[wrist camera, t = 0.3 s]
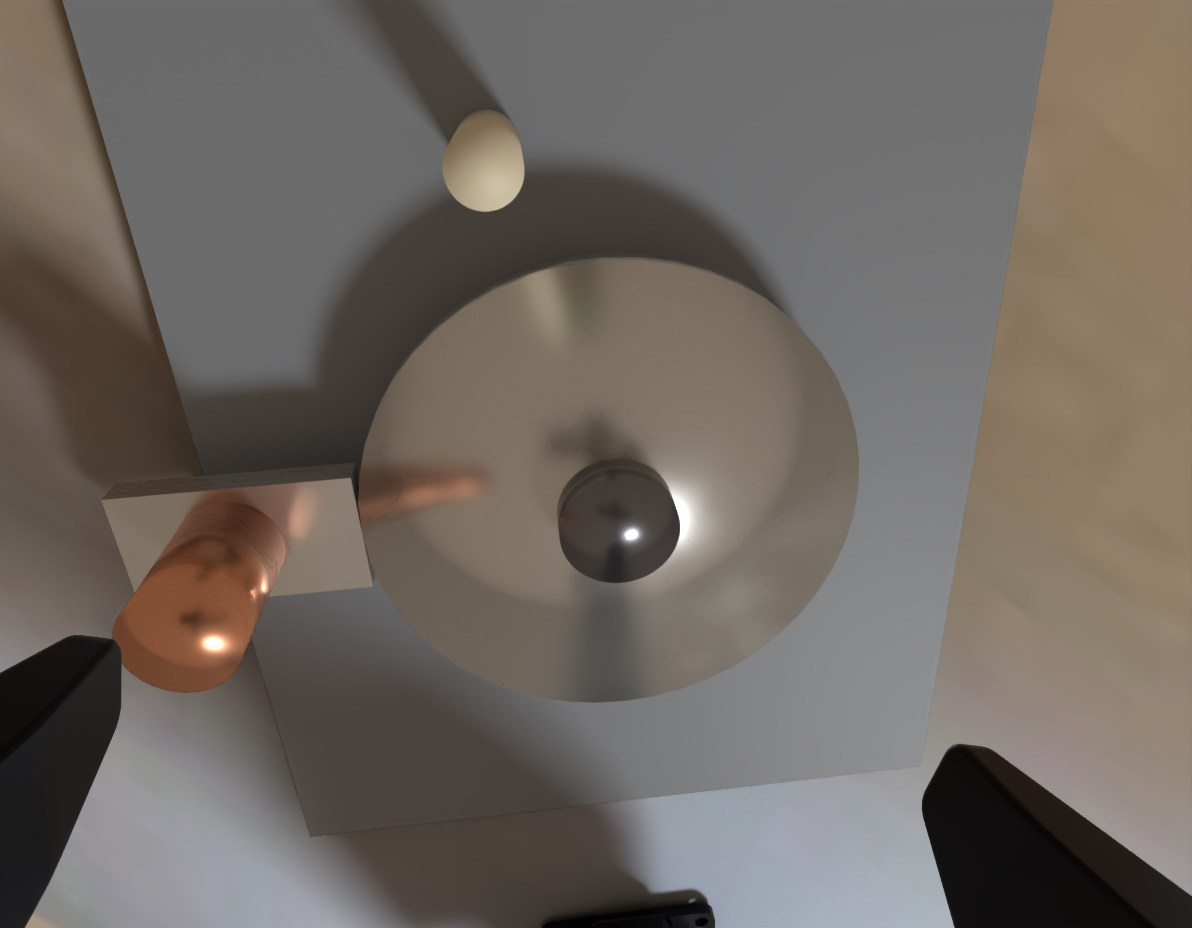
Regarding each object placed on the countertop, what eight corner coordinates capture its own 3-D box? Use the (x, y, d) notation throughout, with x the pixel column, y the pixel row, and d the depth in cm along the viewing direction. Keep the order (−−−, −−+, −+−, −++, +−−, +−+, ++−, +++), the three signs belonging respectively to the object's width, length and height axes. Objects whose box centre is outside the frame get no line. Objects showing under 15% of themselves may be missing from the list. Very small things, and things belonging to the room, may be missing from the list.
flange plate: (869, 232, 18) (968, 283, 15) (828, 659, 24) (891, 779, 20) (48, 292, 17) (-85, 364, 13) (201, 725, 23) (138, 867, 19)
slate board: (907, 744, 29) (981, 872, 24) (316, 811, 27) (280, 959, 23) (1041, -86, 18) (1219, -128, 13) (74, -39, 17) (-84, -70, 12)
